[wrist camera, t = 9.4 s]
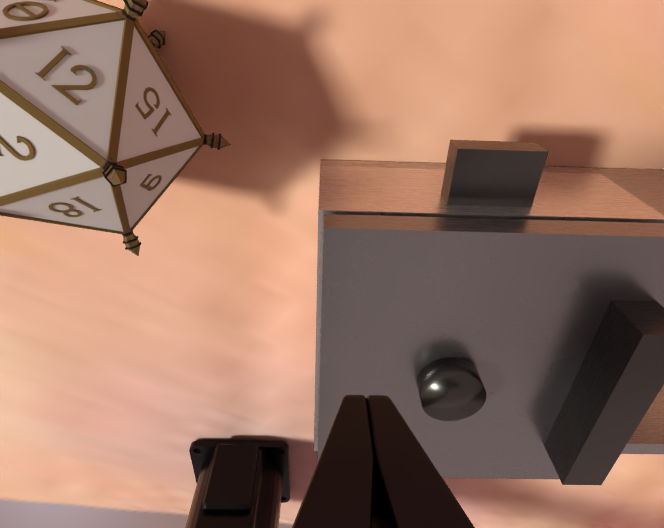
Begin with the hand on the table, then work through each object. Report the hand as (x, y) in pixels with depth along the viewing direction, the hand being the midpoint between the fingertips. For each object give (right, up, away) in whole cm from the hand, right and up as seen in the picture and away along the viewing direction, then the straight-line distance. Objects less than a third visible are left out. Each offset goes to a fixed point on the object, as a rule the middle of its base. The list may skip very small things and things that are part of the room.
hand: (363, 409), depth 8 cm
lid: (+5, -1, +10) cm, 11 cm away
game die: (-9, +10, +9) cm, 16 cm away
